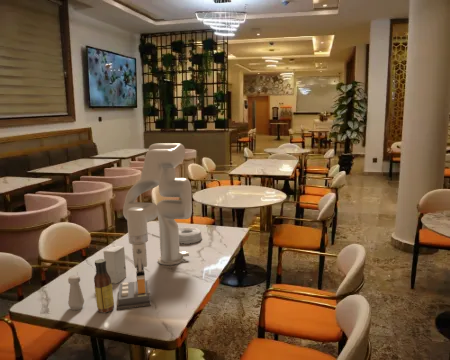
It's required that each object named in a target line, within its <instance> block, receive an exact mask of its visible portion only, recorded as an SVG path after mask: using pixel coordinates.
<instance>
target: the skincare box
mask: <svg viewBox="0 0 450 360" xmlns="http://www.w3.org/2000/svg"><path fill="white" fill-rule="evenodd" d="M103 259H105V260H106V269H107V273H108V274H109V276H110V278H111V283H112V284H115V285H117V284H119V283H120V282H121V281H122V280H124V279H125V278H127V268H126V255H125V246H123V245H122V246H121V245H113V246H111V247H108V248H107V249H105V250H103Z"/></svg>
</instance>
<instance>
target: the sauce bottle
mask: <svg viewBox="0 0 450 360" xmlns="http://www.w3.org/2000/svg"><path fill="white" fill-rule="evenodd" d="M94 266H95V274H94V277H93V283H94V292H95V300H96V307H97V311H98V312H99V313H108V312H111V311H113V310H114V308H115V301H114V294H113V293H114V292H113V286H112V285H113V283H111V278H110V276H109V274H108V273H107V269H106V260H105V259H104V258H99V259H96V260H95V261H94Z"/></svg>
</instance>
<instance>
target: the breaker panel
mask: <svg viewBox="0 0 450 360" xmlns="http://www.w3.org/2000/svg"><path fill="white" fill-rule="evenodd" d="M149 283H150V282H149V280H147V279H145V293H141V294H138V282H137V280H135V281H128V282H121V283H120V282H119V289H118V305H124V304H132V303H140V302H148V301H150V302H151V296H150V295H151V294H150V285H149Z"/></svg>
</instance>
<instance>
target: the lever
mask: <svg viewBox="0 0 450 360" xmlns="http://www.w3.org/2000/svg"><path fill="white" fill-rule="evenodd" d="M145 280H146V275H143V276H137V275H136V281H137V282H138V294H141V293H145Z"/></svg>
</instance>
